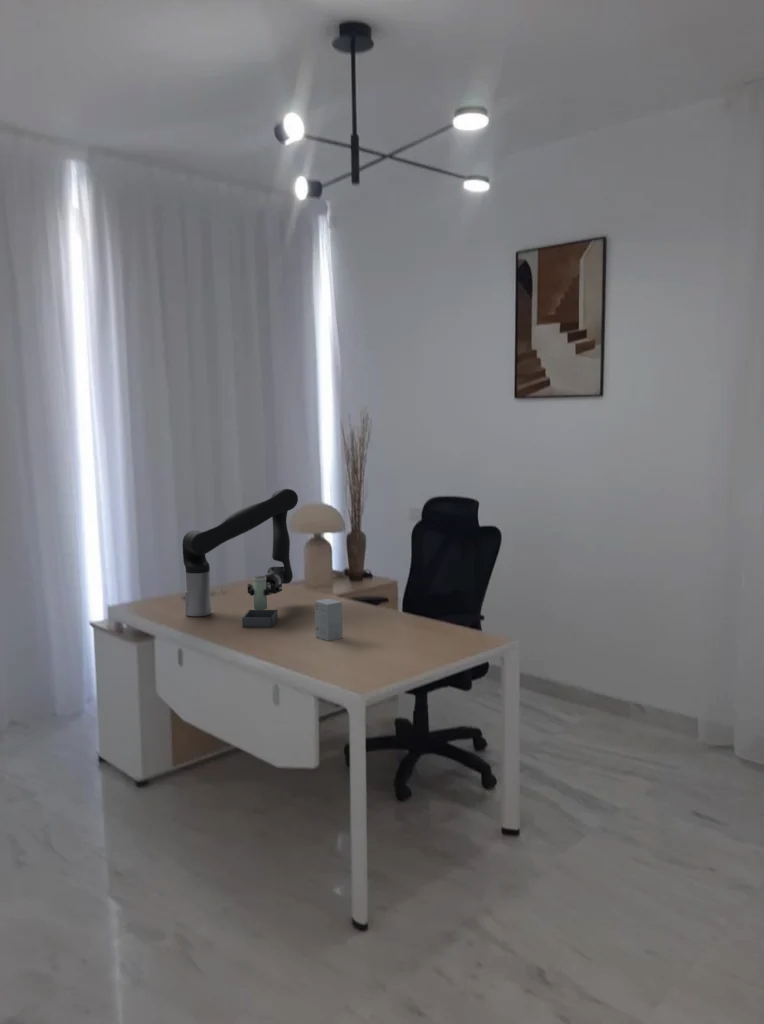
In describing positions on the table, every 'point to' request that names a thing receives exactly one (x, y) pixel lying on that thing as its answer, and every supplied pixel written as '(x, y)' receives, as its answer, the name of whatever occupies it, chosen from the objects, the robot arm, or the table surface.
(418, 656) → the table surface
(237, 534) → the robot arm
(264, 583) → the canister
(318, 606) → the small box
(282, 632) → the table surface
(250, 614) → the tray
